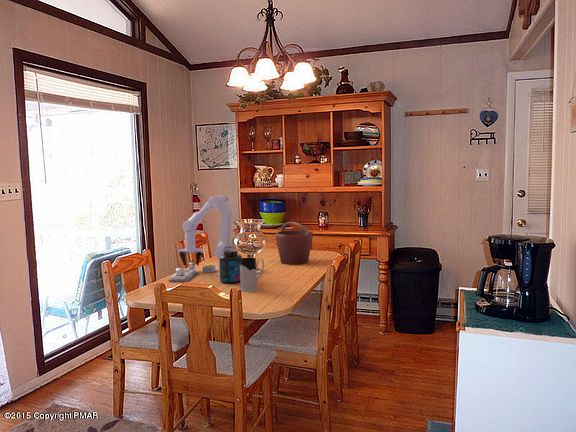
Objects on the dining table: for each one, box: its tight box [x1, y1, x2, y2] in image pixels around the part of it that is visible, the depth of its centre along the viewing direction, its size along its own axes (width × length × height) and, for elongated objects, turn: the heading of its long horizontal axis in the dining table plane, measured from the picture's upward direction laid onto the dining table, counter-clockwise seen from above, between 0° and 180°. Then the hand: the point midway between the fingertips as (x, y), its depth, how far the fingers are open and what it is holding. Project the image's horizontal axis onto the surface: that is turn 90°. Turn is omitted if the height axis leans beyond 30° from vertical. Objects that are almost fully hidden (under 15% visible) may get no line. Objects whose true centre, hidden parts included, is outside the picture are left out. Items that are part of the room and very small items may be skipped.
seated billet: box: [175, 267, 185, 276], centre depth 248 cm, size 4×4×5 cm
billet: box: [187, 262, 196, 271], centre depth 268 cm, size 4×4×5 cm
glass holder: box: [240, 257, 265, 293], centre depth 226 cm, size 9×14×15 cm, turn 135°
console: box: [202, 264, 216, 273], centre depth 268 cm, size 6×6×3 cm
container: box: [218, 249, 243, 285], centre depth 242 cm, size 12×12×16 cm
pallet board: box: [168, 269, 199, 283], centre depth 254 cm, size 20×10×3 cm, turn 175°
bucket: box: [275, 221, 314, 266], centre depth 286 cm, size 24×22×25 cm
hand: (191, 265), depth 268 cm, fingers open, 7 cm apart
